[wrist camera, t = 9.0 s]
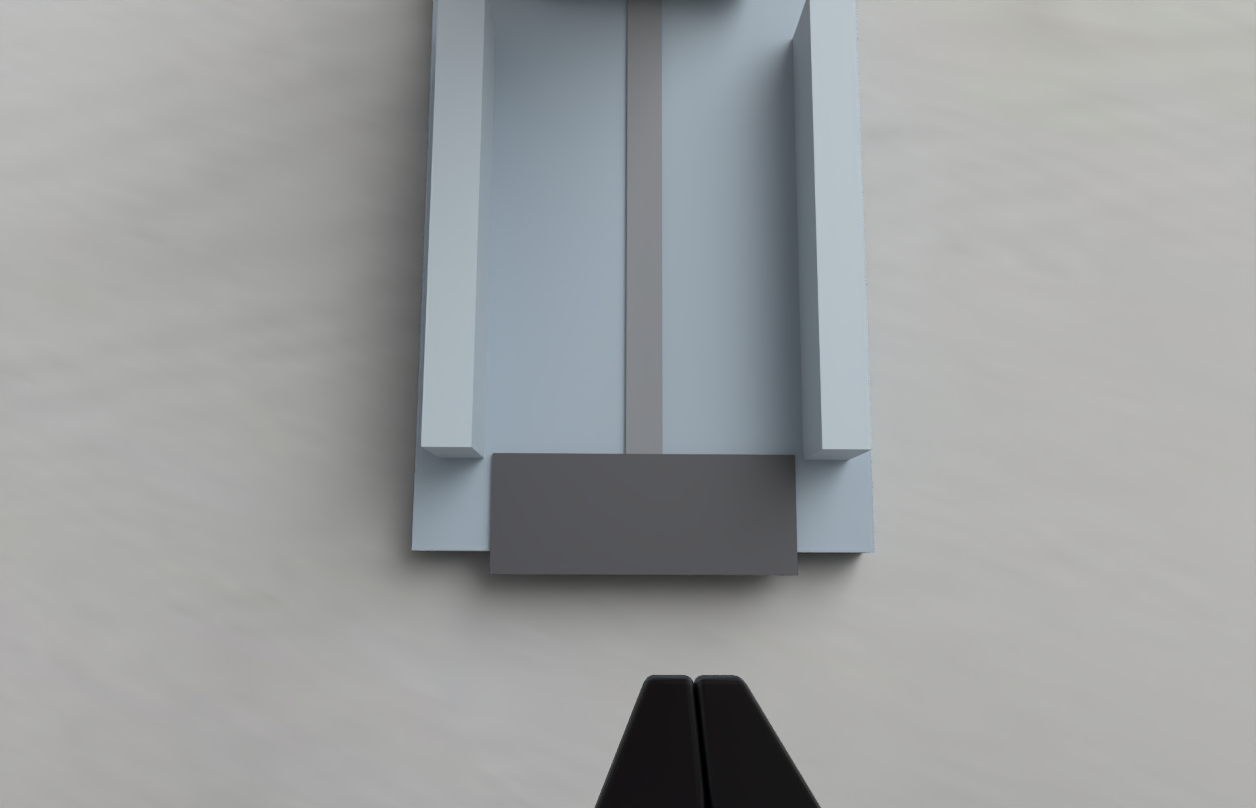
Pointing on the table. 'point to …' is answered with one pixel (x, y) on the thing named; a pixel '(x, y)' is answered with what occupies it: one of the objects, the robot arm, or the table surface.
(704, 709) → the robot arm
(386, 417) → the table surface
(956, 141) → the table surface
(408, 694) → the table surface
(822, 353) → the trough board
